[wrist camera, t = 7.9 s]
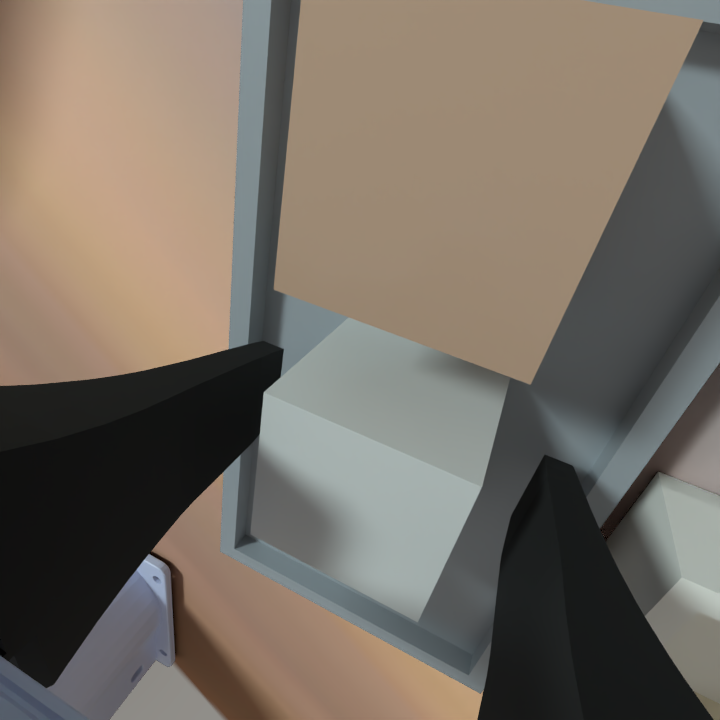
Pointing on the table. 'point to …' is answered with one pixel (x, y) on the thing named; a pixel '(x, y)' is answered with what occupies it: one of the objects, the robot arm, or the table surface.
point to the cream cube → (710, 706)
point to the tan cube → (464, 161)
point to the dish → (676, 573)
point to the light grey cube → (375, 460)
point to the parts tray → (522, 401)
